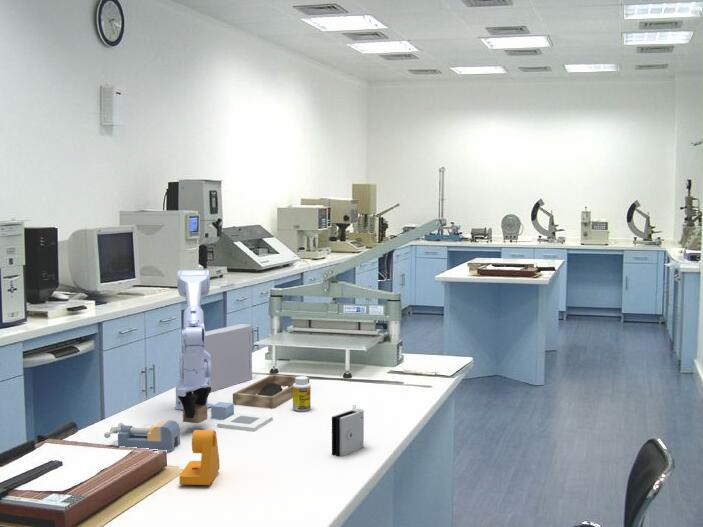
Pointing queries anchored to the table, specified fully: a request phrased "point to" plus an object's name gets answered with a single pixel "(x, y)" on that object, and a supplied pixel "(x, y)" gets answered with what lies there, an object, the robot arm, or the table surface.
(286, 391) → the plank frame
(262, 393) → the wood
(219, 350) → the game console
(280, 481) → the table surface
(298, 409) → the supplement bottle
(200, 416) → the walnut block
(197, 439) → the bracket
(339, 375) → the table surface
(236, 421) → the board
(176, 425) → the vise
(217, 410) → the blue block
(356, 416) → the hinge
